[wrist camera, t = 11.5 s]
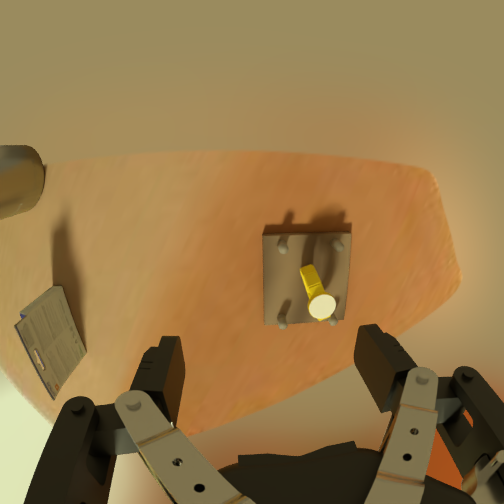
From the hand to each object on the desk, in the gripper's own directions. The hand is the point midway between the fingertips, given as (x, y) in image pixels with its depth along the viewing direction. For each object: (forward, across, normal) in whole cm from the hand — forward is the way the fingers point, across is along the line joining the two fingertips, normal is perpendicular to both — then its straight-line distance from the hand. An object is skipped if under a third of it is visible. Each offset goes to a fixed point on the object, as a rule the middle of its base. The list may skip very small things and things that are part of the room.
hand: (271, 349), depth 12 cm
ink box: (+22, +26, +12) cm, 36 cm away
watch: (+20, -7, +6) cm, 22 cm away
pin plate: (+21, -7, +6) cm, 23 cm away
